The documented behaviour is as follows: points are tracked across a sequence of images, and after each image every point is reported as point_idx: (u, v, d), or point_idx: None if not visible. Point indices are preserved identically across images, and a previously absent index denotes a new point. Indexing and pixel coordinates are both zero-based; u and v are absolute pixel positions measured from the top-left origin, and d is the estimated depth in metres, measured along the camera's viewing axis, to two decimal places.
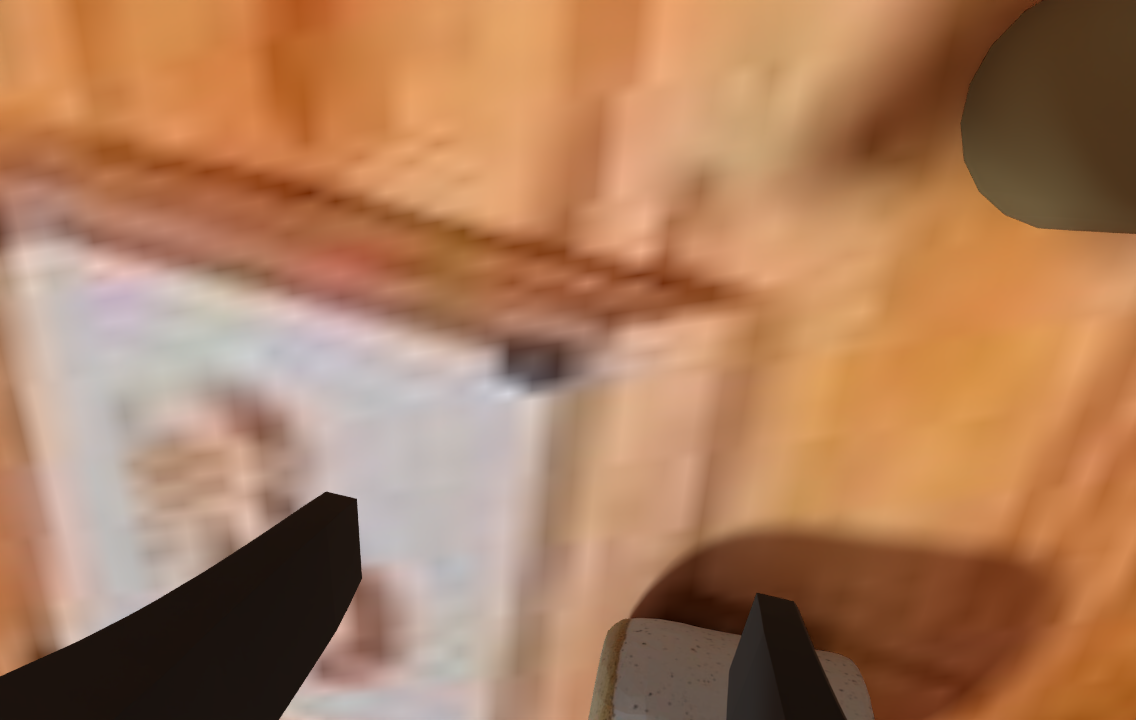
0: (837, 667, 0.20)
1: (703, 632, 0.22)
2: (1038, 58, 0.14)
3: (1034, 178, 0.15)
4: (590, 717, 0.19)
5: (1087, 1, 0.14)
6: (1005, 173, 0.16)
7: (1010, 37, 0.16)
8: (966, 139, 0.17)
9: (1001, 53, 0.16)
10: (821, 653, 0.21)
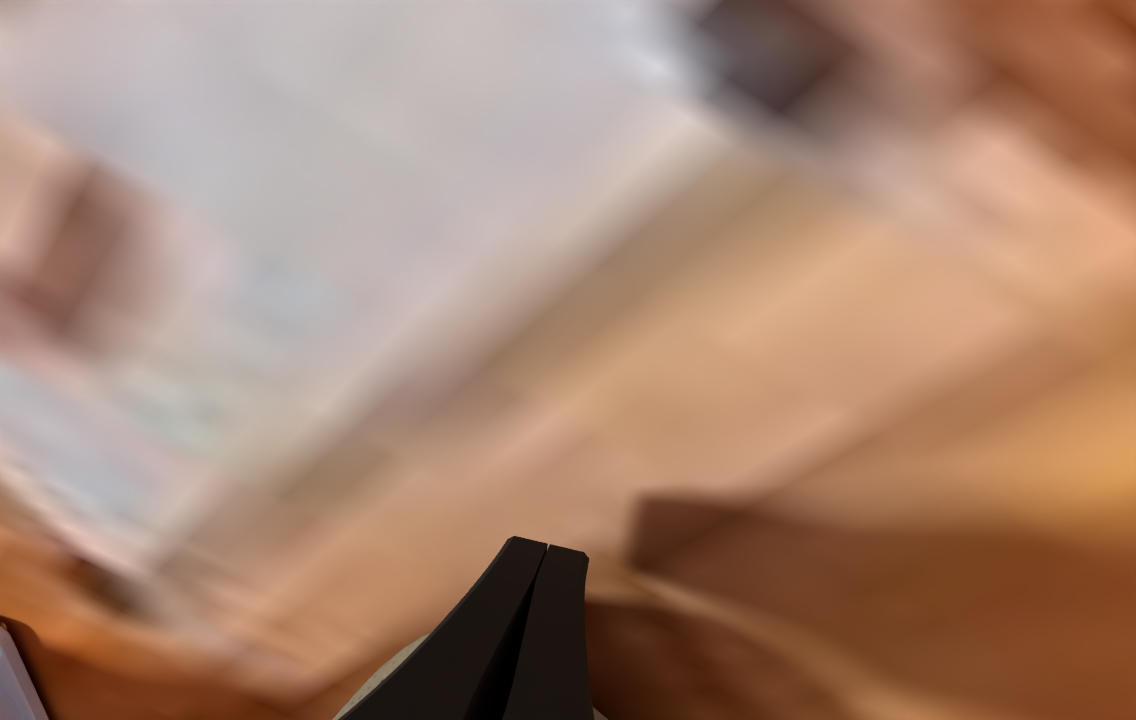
0: None
1: None
2: None
3: None
4: None
5: None
6: None
7: None
8: None
9: None
10: None
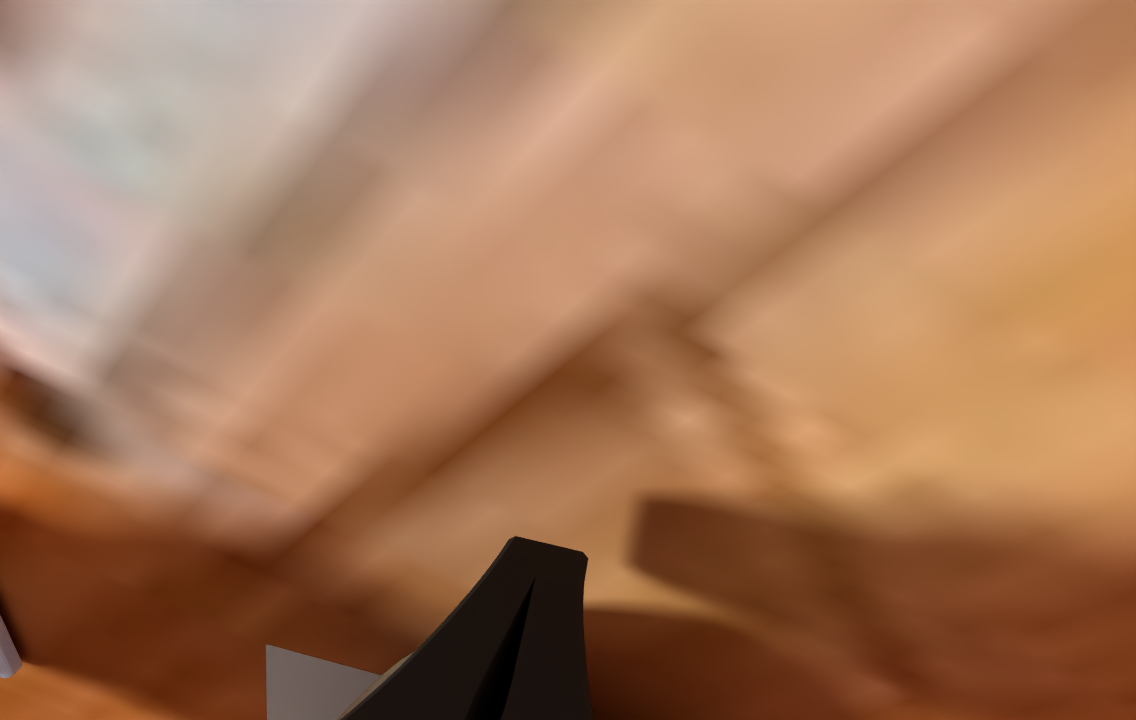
0: None
1: None
2: None
3: None
4: None
5: None
6: None
7: None
8: None
9: None
10: None
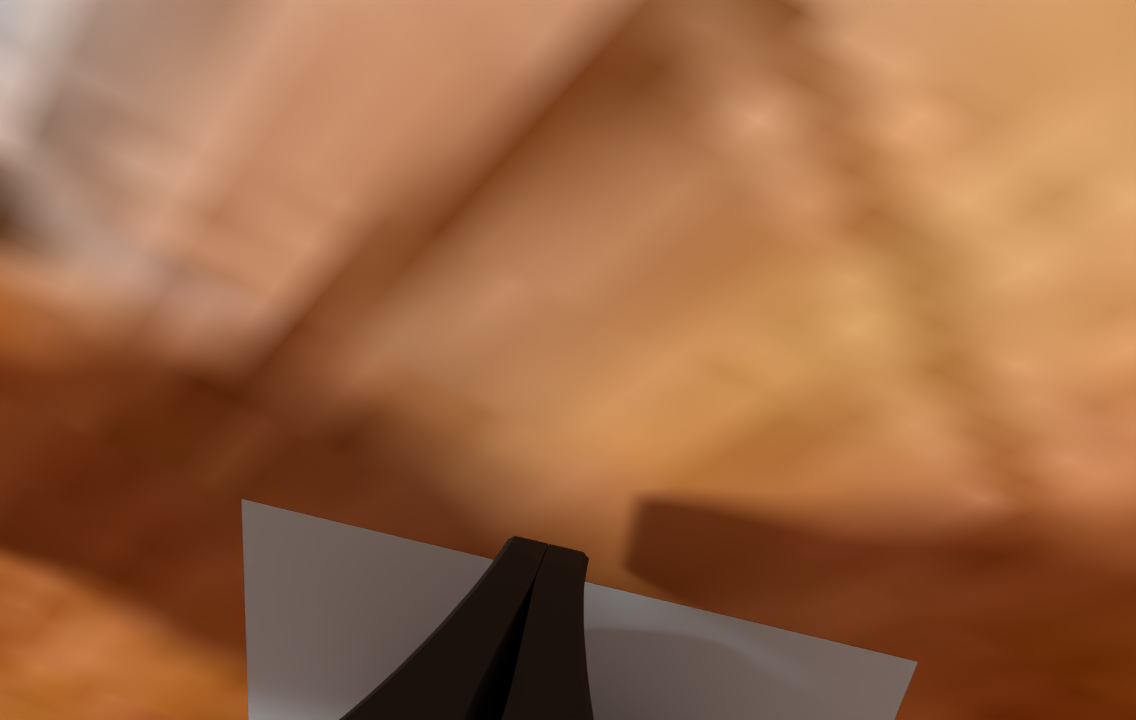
0: None
1: None
2: None
3: None
4: None
5: None
6: None
7: None
8: None
9: None
10: None
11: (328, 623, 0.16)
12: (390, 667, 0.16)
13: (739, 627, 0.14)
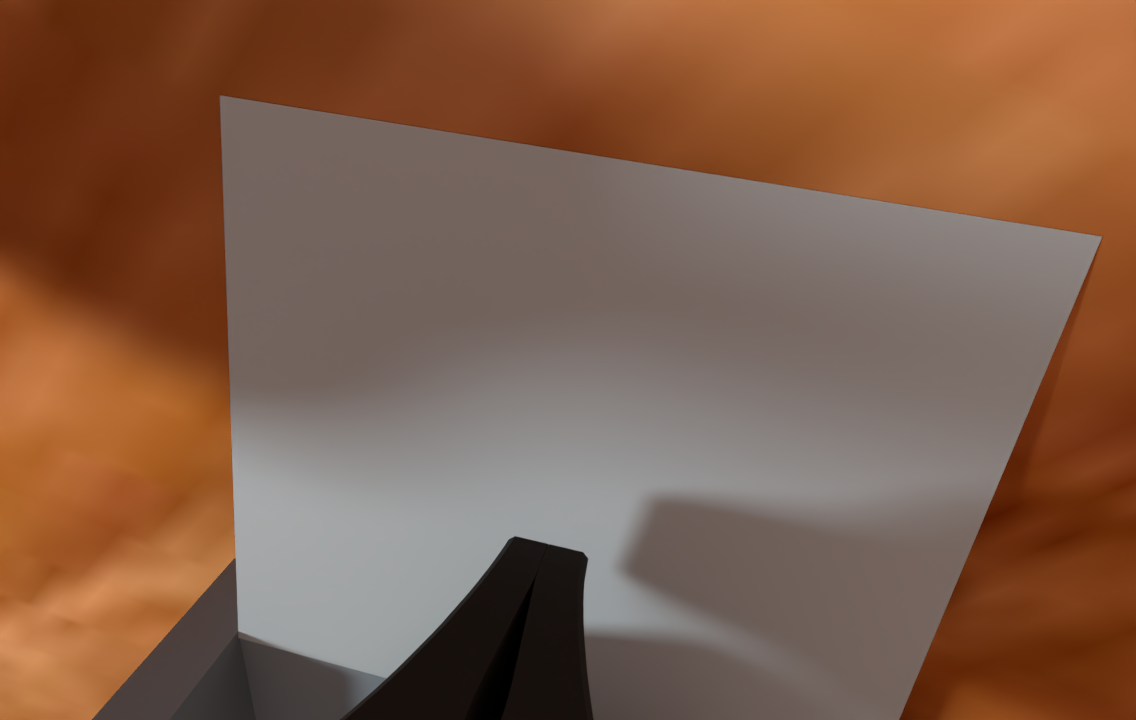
0: None
1: None
2: None
3: None
4: None
5: None
6: None
7: None
8: None
9: None
10: None
11: (329, 273, 0.13)
12: (406, 331, 0.13)
13: (863, 211, 0.11)
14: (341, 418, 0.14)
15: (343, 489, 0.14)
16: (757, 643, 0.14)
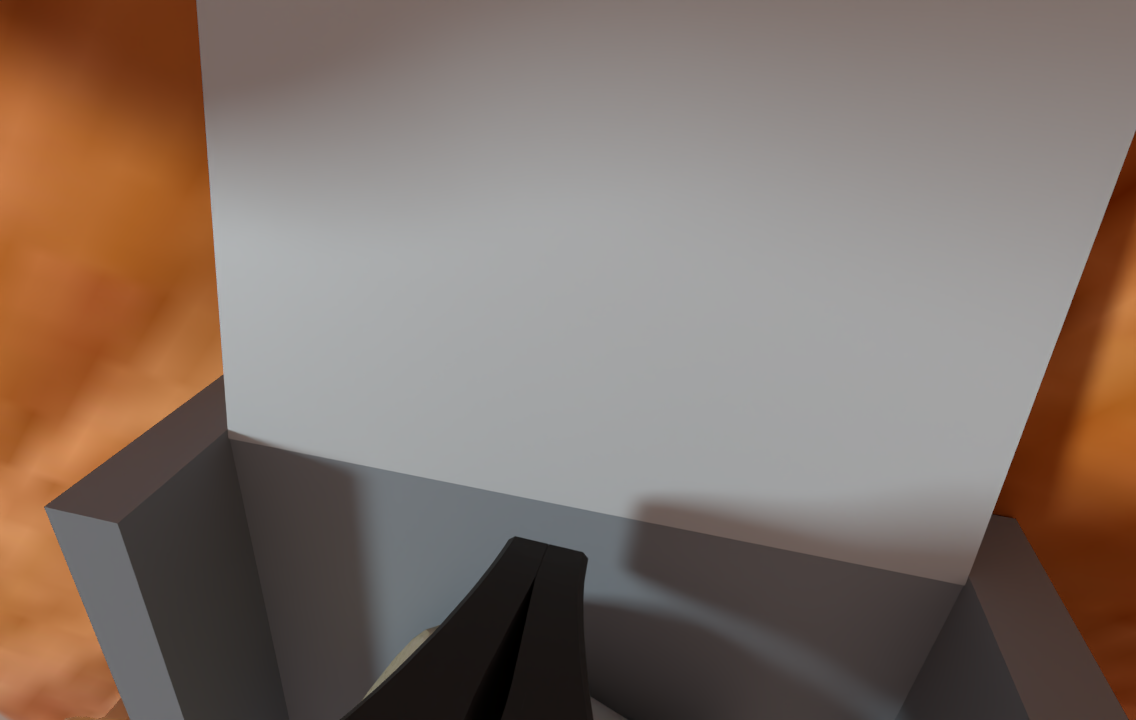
0: None
1: None
2: None
3: None
4: None
5: None
6: None
7: None
8: None
9: None
10: None
11: None
12: None
13: None
14: (333, 129, 0.12)
15: (339, 226, 0.12)
16: (836, 375, 0.11)
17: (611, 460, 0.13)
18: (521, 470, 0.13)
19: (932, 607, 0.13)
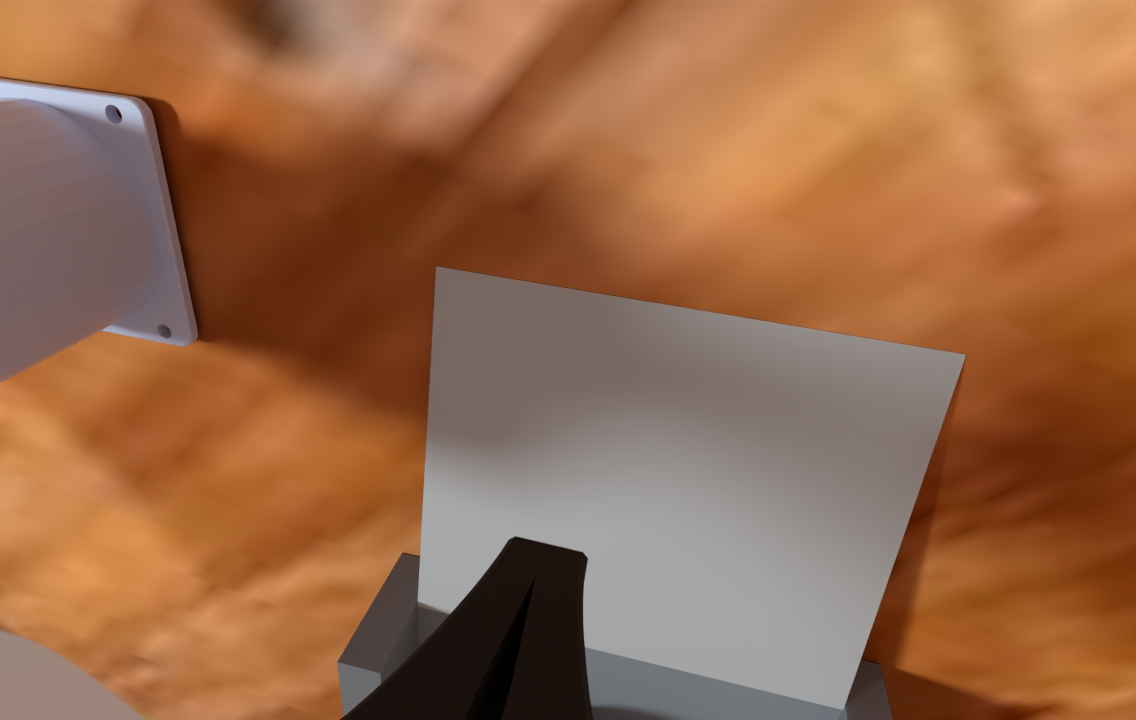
0: None
1: None
2: None
3: None
4: None
5: None
6: None
7: None
8: None
9: None
10: None
11: (498, 370, 0.21)
12: (547, 405, 0.21)
13: (828, 339, 0.18)
14: (500, 459, 0.22)
15: (498, 504, 0.22)
16: (771, 600, 0.21)
17: (647, 633, 0.23)
18: (595, 635, 0.23)
19: (826, 719, 0.22)
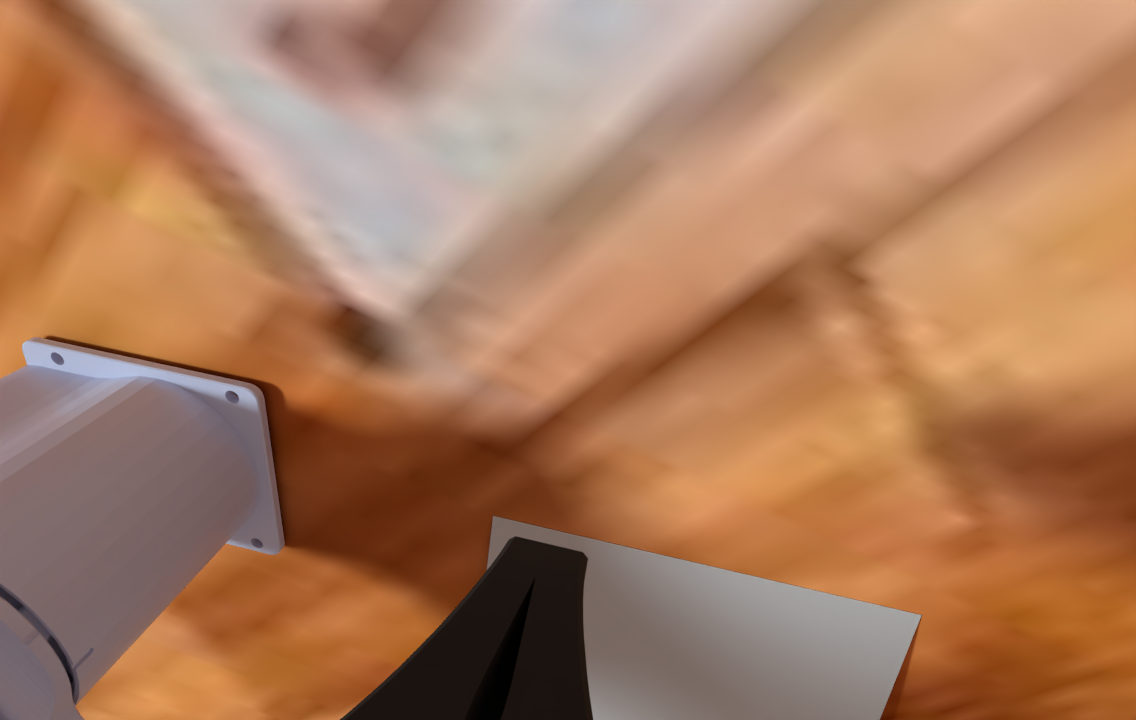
0: None
1: None
2: None
3: None
4: None
5: None
6: None
7: None
8: None
9: None
10: None
11: None
12: None
13: (812, 595, 0.23)
14: None
15: None
16: None
17: None
18: None
19: None
